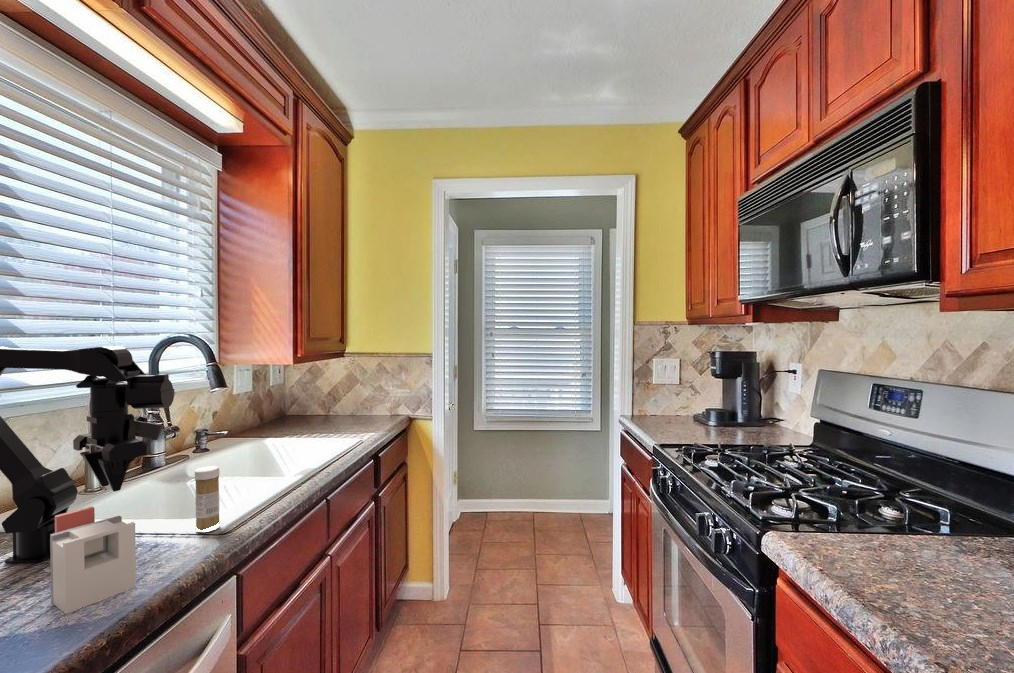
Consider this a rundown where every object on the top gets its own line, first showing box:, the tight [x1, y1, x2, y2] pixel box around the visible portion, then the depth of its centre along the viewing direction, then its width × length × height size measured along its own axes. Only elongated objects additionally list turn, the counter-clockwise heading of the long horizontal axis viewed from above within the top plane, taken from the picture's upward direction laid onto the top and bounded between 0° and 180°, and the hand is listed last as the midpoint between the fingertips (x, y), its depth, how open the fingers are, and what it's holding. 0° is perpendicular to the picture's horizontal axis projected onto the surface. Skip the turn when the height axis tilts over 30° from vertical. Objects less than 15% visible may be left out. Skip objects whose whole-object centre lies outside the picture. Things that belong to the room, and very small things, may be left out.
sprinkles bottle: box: [194, 465, 221, 530], centre depth 103 cm, size 5×5×14 cm
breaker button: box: [55, 506, 103, 556], centre depth 80 cm, size 8×5×6 cm, turn 59°
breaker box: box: [50, 515, 137, 615], centre depth 78 cm, size 6×9×11 cm
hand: (110, 488), depth 94 cm, fingers open, 5 cm apart
